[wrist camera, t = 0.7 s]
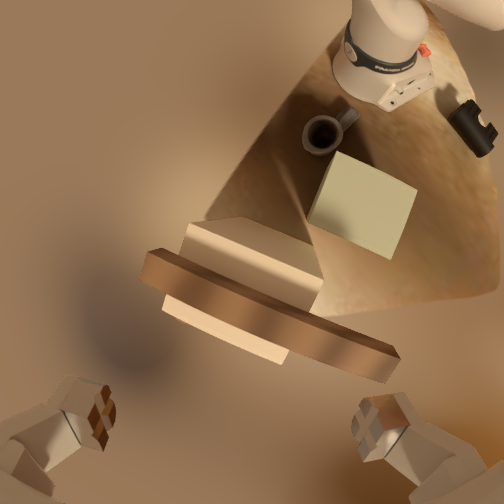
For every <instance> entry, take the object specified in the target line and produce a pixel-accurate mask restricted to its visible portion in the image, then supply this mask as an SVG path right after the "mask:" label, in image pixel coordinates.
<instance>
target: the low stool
mask: <svg viewBox="0 0 504 504" xmlns="http://www.w3.org/2000/svg"><path fill="white" fill-rule="evenodd" d="M416 193H417V190H416V189H414V188H412V187H411V186H409V185H407V184H405V183H403V182H401V181H399V180H397V179H395V178H393V177H392V176H390V175H388V174H386V173H384V172H382V171H380V170H377V169H375V168H373V167H371V166H369V165H367V164H365V163H363V162H361V161H358V160H356V159H354V158H352V157H350V156H347V155H345V154H343V153H340V152H338V151H336V153H335V155H334V157H333V158H332V160H331V162H330V163H329V165H328V167H327V169H326V171H325V174H324V176H323V179H322V181H321V184H320V186H319V189H318V191H317V194H316V196H315V199H314V201H313V204H312V206H311V209H310V211H309V214H308V216H307V219H306V220H307V221H308V223H310V224H312V225H315V226H317V227H319V228H322V229H324V230H326V231H328V232H331V233H333V234H335V235H337V236H340V237H342V238H344V239H346V240H349V241H351V242H353V243H355V244H358V245H360V246H362V247H364V248H366V249H368V250H371V251H373V252H375V253H377V254H379V255H381V256H383V257H386V258H388V259H390V260H391V258H392V255H393V253H394V251H395V248H396V246H397V244H398V241H399V239H400V236H401V234H402V231H403V229H404V226H405V224H406V221H407V218H408V216H409V213H410V210H411V208H412V205H413V202H414V199H415V196H416Z"/></svg>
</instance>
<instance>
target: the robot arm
mask: <svg viewBox="0 0 504 504" xmlns="http://www.w3.org/2000/svg"><path fill="white" fill-rule="evenodd" d="M426 1H429V2H431V3H433V4H435V5H437V6H439V7H441V8H443V9H445V10H447V11H449V12H450V13H452V14H454V15H456V16H458V17H460V18H463V19H465V20H468V21H470V22H472V23H474V24H477V25H479V26H482V27H484V28H486V29H489V30H492V31H497V30H502V29H504V0H426ZM428 30H429V21H428V17H427V15H426V13H425V11H424V9H423V7H422V6H421V4H420V3H419V1H418V0H352V16H351V19H350V20H349V22H348V24H347V28H346V31H345V36H344V37H343V38H342V40H341V46H340V49H339V51H338V52H337V54H336V55H335V57H334V59H333V65H332V68H333V73H334V76H335V78H336V80H337V82H338V83H339V84H340V86H341V87H342V88H343V89H344V90H345V91H346V92H348V93H349V94H350V95H352V96H354V97H355V98H357V99H360V100H362V101H366V102H370V103H373V104H375V105H377V106H378V107H380V108H381V109H383V110H384V111H387V112H391V111H393V110H394V109H396V108H398V107H399V106H401V105H403V104H405V103H406V102H408V101H410V100H411V99H413V98H415V97H417V96H418V95H420V94H422V93H424V92H425V91H427V90H429V89H431V88H432V87H433V86H434V85H435V78H434V74H433V71H432V66H431V62H430V60H429V57H428V56H429V55H430V54H431V51H430V50H429V49H428V48H427V46H426V44H421V43H422V41H423V40H424V39H425V37H426V36H427V34H428ZM429 74H430V75H429ZM390 102H393V104H391V103H390ZM110 395H111V390H110V387H109V386H108V385H106V384H102V383H99V382H95V381H91V380H88V379H84V378H81V377H77V376H74V375H71V374H67V375H65V376H64V378H63V379H62V380H61V382H60V383H59V385H58V386H57V388H56V389H55V391H54V392H53V394H52V395H51V397H50V399H49V400H48V402H47V403H46V404H43V403H42V404H40V405H38V406H35V407H33V408H31V409H29V410H26V411H24V412H22V413H20V414H17V415H15V416H13V417H11V418H8V419H6V420H4V421H1V422H0V504H65V503H63V502H60V501H58V500H56V499H54V498H52V494H53V491H54V489H55V483H54V482H53V481H52V479H51V478H50V477H49V476H48V475H47V474H46V473H45V472H47V471H48V470H50V469H51V468H52V467H54V466H55V465H57V464H58V463H59V462H61V461H62V460H63V459H65V458H66V457H68V456H69V455H70V454H72V453H73V452H74V451H76V450H77V449H78V448H80V447H81V446H80V445H82V446H85V447H88V448H91V449H95V450H98V451H102V452H104V449H105V447H106V444H107V441H108V438H109V436H108V433H107V431H108V430H110V429H111V428H113V426H114V423H115V419H116V407H115V403H114V401H113V400H111V399H110ZM359 407H360V409H361V410H359V411H358V412H357V413H356V414H355V415H354V417H353V419H352V425H351V429H352V434H353V437H354V439H355V440H357V441H359V442H360V444H359V446H358V450H359V453H360V455H361V458H362V460H363V462H367V461H372V460H377V459H382V458H385V460H386V461H387V462H389V463H390V464H391V465H392V466H393V467H395V468H396V469H397V470H398V471H400V472H401V473H402V474H403V475H405V476H406V477H407V478H409V479H410V480H411V481H412V482H414V483H415V484H416V485H418V486H419V487H418V488H416V489H415V490H414V491H413V492H412V493H411V494H410V496H409V500H410V502H411V504H504V459H503V460H501V461H500V462H498V463H497V464H495V465H494V466H492V467H491V468H490V469H488V468H487V467H486V465H485V463H484V462H483V460H482V459H481V457H480V456H479V454H478V452H477V451H476V449H475V448H474V447H473V445H470V444H469V443H466V442H465V441H463V440H461V439H459V438H457V437H455V436H453V435H451V434H449V433H447V432H445V431H443V430H441V429H440V428H438V427H436V426H434V425H432V424H430V423H428V422H427V421H426V422H423V421H422V420H421V418H420V416H419V415H418V413H417V412H416V410H415V409H414V407H413V406H412V404H411V402H410V401H409V399H408V398H407V396H406V395H405V393H403V392H399V393H393V394H386V395H380V396H373V397H367V398H364V399H363V400H362V401H361V403H360V404H359Z"/></svg>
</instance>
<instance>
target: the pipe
mask: <svg viewBox="0 0 504 504" xmlns="http://www.w3.org/2000/svg"><path fill="white" fill-rule="evenodd" d="M359 117H360V115H359V113H358V111H356V110H355V109H354V108H353V107H351V106H347V107H345V108H344V109H343V110H342V111H341V112H340V113H339V114H338V115H337V116H336V117H335V118H333V117H330V116H325V115H319V116H316V117H314V118H312V119H311V120H310V121H309V122H308V123H307V124H306V125H305V127H304V130H303V137H302V142H303V147H304V149H305V150H307V151H309V152H310V153H311V154H312V155H315V156H325V155H328V154H329V153H330V152H332V150H334V149H335V148H336V147H337V146H338V145H339V144H340V142H341V141H342V138H343V132H344V131H345V130H346V129H347V128H348V127H350V126H351V125H352V124H353V123H354V122H355V121H356V120H357V119H358V118H359Z"/></svg>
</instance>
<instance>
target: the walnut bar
mask: <svg viewBox="0 0 504 504" xmlns="http://www.w3.org/2000/svg"><path fill="white" fill-rule="evenodd" d="M140 281H143V282H144V283H146V284H148V285H150V286H152V287H154V288H156V289H157V290H159V291H161V292H164V293H165V294H167V295H169V296H171V297H173V298H175V299H177V300H179V301H181V302H183V303H185V304H187V305H189V306H191V307H193V308H195V309H198V310H200V311H202V312H204V313H206V314H208V315H210V316H212V317H214V318H217V319H219V320H221V321H223V322H225V323H228V324H230V325H232V326H234V327H236V328H239V329H241V330H243V331H246V332H248V333H250V334H252V335H255V336H257V337H259V338H262V339H264V340H267V341H269V342H271V343H274V344H276V345H279V346H281V347H284V348H286V349H289V350H291V351H294V352H296V353H299V354H301V355H304V356H307V357H309V358H312V359H314V360H317V361H320V362H322V363H325V364H328V365H331V366H333V367H336V368H339V369H342V370H345V371H348V372H350V373H353V374H356V375H359V376H362V377H365V378H368V379H371V380H374V381H377V382H381V383H384V384H385V383H386V381H387V380H388V378H389V377H390V375H391V374H392V372H393V371H394V369H395V368H396V366H397V365H398V363H399V362H400V360H401V359H400V357H399V356H398V354H397V352H396V350H395V348H394V347H393V346H392V345H389V344H386V343H384V342H382V341H379V340H376V339H374V338H371V337H368V336H366V335H363V334H361V333H358V332H356V331H353V330H351V329H348V328H346V327H343V326H340V325H338V324H335V323H333V322H331V321H328V320H326V319H323V318H321V317H318V316H316V315H313V314H311V313H309V312H306V311H304V310H301V309H299V308H297V307H294V306H292V305H289V304H287V303H285V302H282V301H280V300H278V299H275V298H273V297H271V296H268V295H266V294H264V293H261V292H259V291H257V290H254V289H252V288H250V287H247V286H245V285H243V284H241V283H238V282H236V281H234V280H232V279H229V278H227V277H225V276H223V275H220V274H218V273H216V272H214V271H211V270H209V269H207V268H205V267H203V266H200V265H198V264H196V263H194V262H192V261H189V260H187V259H185V258H183V257H181V256H179V255H176V254H174V253H172V252H170V251H168V250H166V249H164V248H159V249H155V250H152V251H148V252H147V255H146V258H145V262H144V265H143V269H142V273H141V277H140Z"/></svg>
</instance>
